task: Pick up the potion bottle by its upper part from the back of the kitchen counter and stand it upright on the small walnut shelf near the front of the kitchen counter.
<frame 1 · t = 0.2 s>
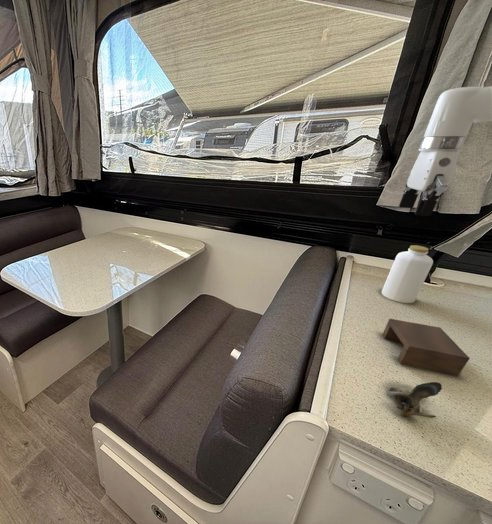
hand: (413, 211, 75), 30 cm above the kitchen counter, tool pointing down, fingers open, 9 cm apart
eagle figurine: (406, 408, 53), on the kitchen counter
potion bottle: (396, 298, 89), on the kitchen counter
shelf: (415, 356, 65), on the kitchen counter
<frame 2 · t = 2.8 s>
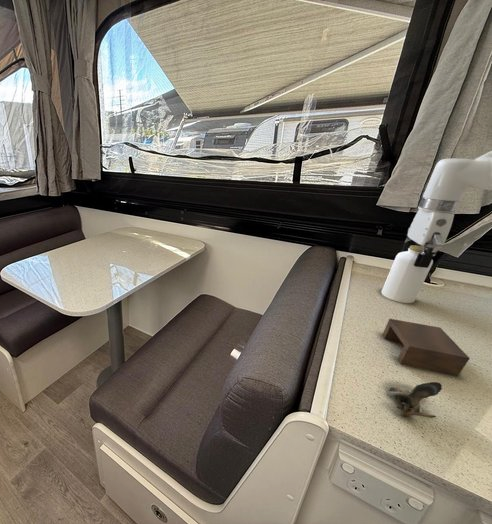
hand: (413, 260, 83), 14 cm above the kitchen counter, tool pointing down, fingers closed on potion bottle, 8 cm apart
potion bottle: (396, 298, 89), on the kitchen counter, touching gripper
everything else where it was.
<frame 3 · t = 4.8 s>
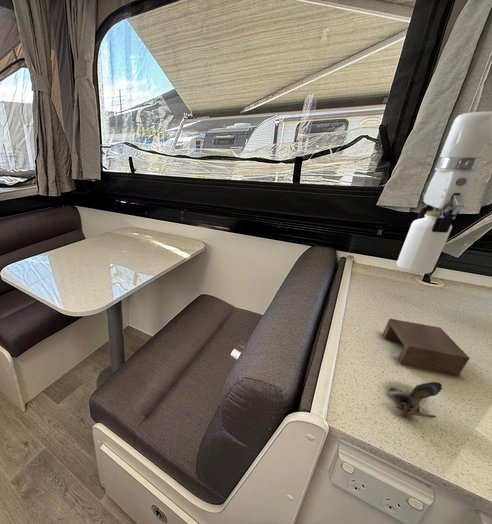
hand: (430, 227, 78), 24 cm above the kitchen counter, tool pointing down, fingers closed on potion bottle, 8 cm apart
potion bottle: (412, 269, 84), point 11 cm above the kitchen counter, touching gripper
everything else where it was.
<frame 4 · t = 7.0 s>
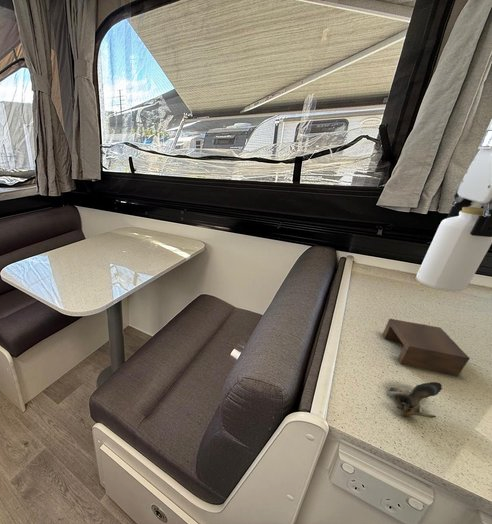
hand: (466, 229, 58), 30 cm above the kitchen counter, tool pointing down, fingers closed on potion bottle, 8 cm apart
potion bottle: (438, 285, 63), point 16 cm above the kitchen counter, touching gripper
everything else where it was.
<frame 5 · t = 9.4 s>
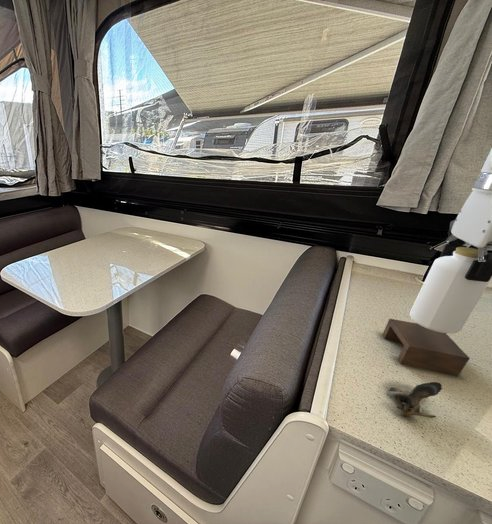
hand: (460, 270, 55), 23 cm above the kitchen counter, tool pointing down, fingers closed on potion bottle, 8 cm apart
potion bottle: (432, 324, 61), point 9 cm above the kitchen counter, touching gripper
everything else where it was.
when the fingers open (20 cm above the kitchen counter, at t = 11.1 s): potion bottle stays where it is, resting on shelf.
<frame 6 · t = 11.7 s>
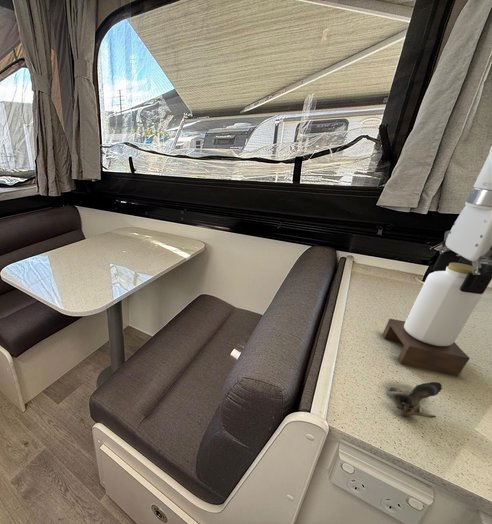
hand: (455, 281, 56), 21 cm above the kitchen counter, tool pointing down, fingers open, 9 cm apart
potion bottle: (425, 336, 63), point 6 cm above the kitchen counter, touching shelf
everything else where it was.
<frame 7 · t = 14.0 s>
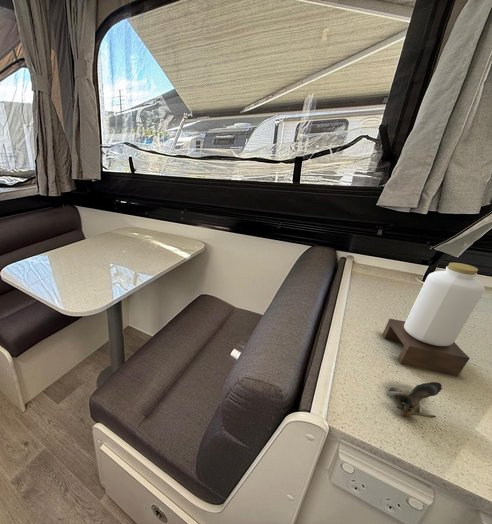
nothing on the kitchen counter moved.
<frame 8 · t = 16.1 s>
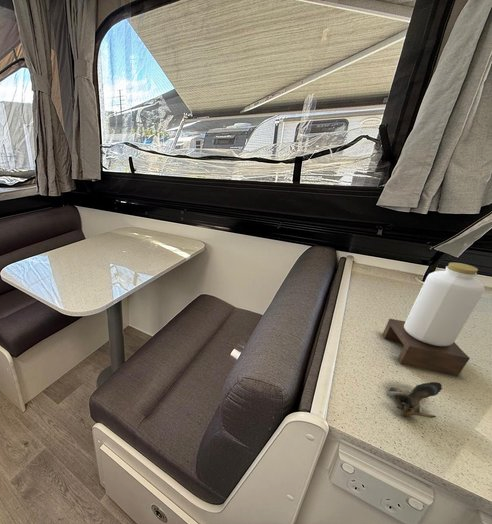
nothing on the kitchen counter moved.
at the end: potion bottle inside the target area on the shelf (0.1 cm from its centre), point 5.8 cm above the shelf's base; potion bottle tilted 0° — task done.
